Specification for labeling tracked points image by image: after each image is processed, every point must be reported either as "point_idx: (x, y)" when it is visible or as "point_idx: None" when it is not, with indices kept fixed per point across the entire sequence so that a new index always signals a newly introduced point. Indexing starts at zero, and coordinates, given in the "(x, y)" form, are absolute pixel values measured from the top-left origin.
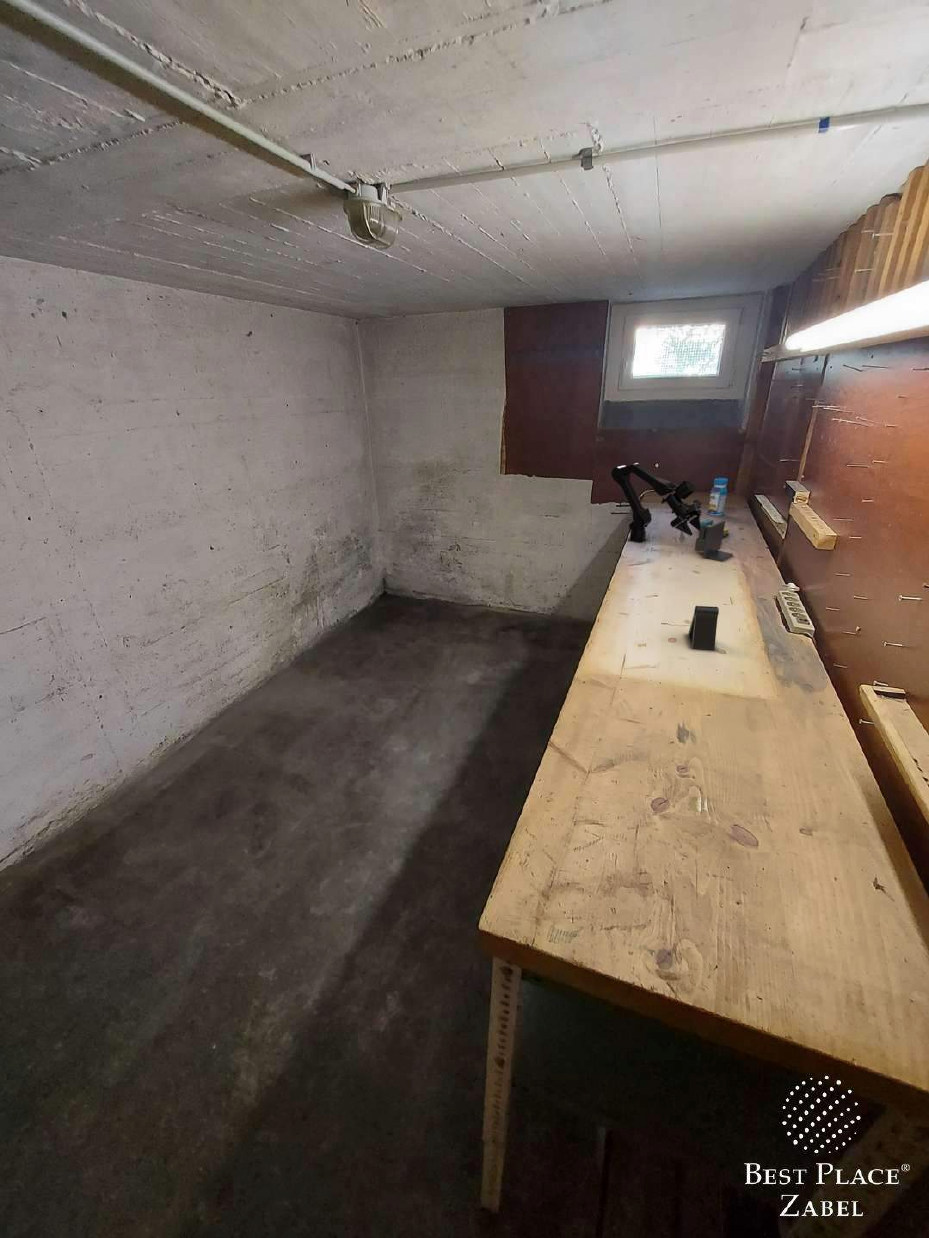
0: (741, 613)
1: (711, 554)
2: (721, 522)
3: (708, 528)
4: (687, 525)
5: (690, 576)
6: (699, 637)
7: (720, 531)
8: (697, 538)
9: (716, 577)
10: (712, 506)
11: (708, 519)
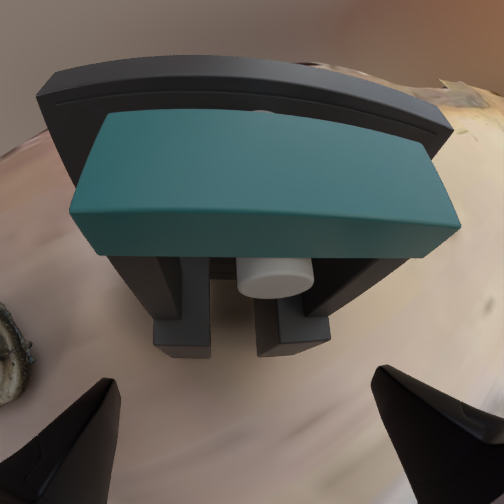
0: (469, 121)
1: None
2: (152, 57)
3: (441, 131)
4: (483, 427)
5: (475, 224)
6: None
7: None
8: (323, 331)
9: None
10: None
11: (93, 191)
